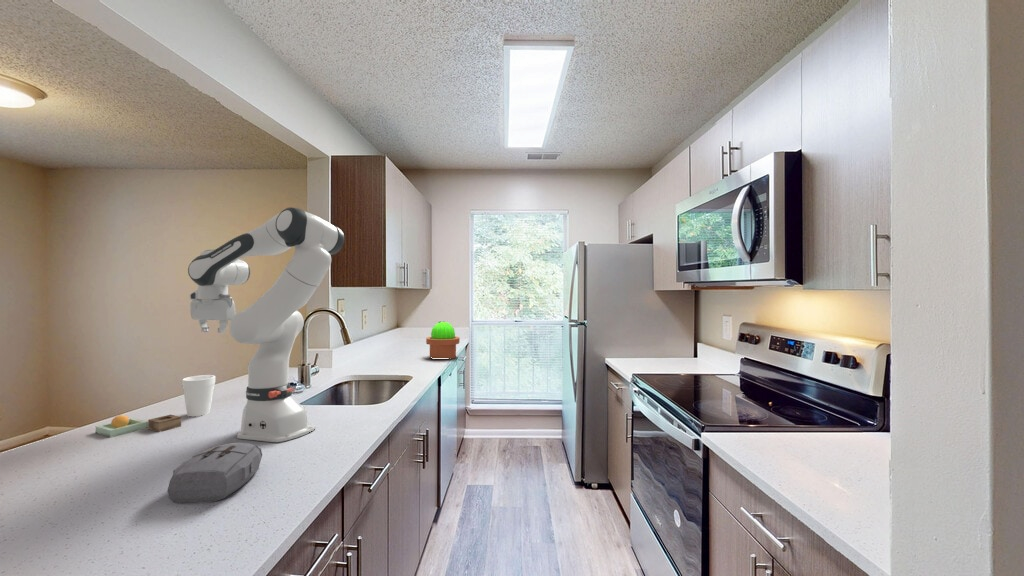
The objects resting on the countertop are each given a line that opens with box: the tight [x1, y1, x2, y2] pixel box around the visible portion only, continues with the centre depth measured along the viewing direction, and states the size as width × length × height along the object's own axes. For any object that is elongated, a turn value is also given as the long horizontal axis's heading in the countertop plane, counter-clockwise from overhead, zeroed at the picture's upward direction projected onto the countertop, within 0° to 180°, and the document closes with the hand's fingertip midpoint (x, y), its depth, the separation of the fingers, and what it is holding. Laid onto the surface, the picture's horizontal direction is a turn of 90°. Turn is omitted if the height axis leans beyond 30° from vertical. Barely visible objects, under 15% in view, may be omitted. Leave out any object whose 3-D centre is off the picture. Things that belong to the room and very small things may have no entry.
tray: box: [95, 417, 148, 438], centre depth 126 cm, size 9×9×2 cm
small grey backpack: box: [167, 442, 263, 505], centre depth 92 cm, size 15×8×20 cm
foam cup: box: [181, 374, 216, 417], centre depth 143 cm, size 10×9×13 cm
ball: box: [110, 414, 130, 428], centre depth 126 cm, size 4×4×4 cm
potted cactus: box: [425, 321, 460, 360], centre depth 267 cm, size 22×22×25 cm
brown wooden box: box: [147, 414, 182, 433], centre depth 128 cm, size 6×6×3 cm
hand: (213, 332), depth 145 cm, fingers open, 8 cm apart
